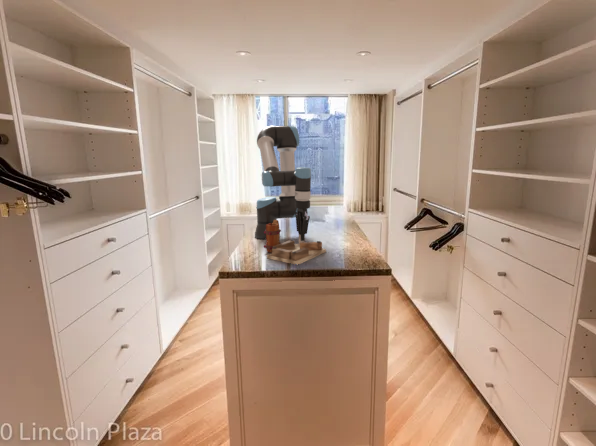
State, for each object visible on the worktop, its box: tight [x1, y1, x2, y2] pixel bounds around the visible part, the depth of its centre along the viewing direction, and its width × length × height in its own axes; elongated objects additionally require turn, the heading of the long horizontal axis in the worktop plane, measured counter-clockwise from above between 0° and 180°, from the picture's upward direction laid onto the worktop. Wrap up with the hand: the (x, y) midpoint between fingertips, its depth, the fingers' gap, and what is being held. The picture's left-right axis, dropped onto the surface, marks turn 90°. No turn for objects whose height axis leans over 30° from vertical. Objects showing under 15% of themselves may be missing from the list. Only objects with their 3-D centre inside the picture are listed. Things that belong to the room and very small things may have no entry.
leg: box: [300, 240, 323, 250], centre depth 160 cm, size 11×3×4 cm, turn 98°
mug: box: [263, 219, 282, 254], centre depth 165 cm, size 15×8×15 cm, turn 168°
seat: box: [266, 239, 327, 266], centre depth 157 cm, size 18×24×5 cm
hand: (301, 246), depth 162 cm, fingers closed
